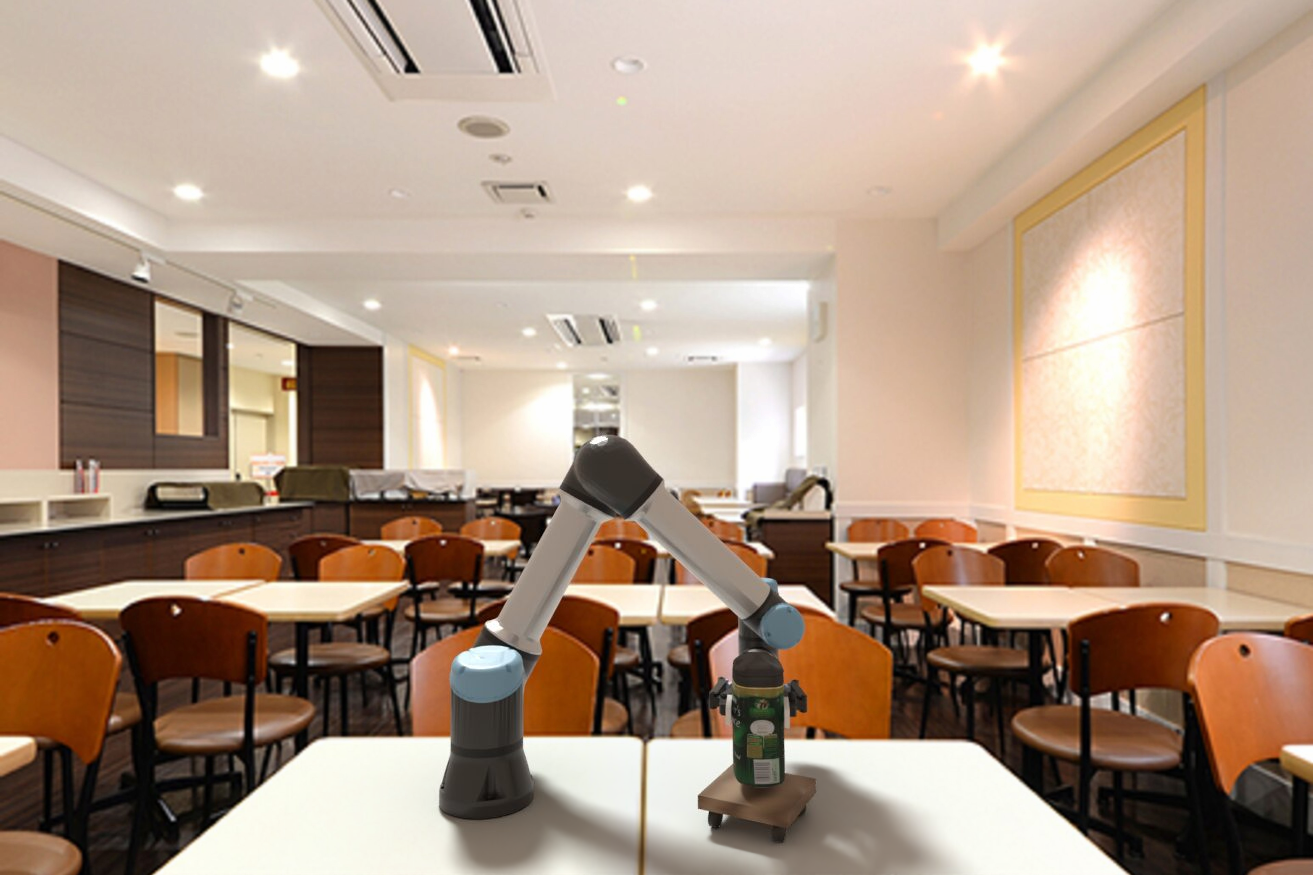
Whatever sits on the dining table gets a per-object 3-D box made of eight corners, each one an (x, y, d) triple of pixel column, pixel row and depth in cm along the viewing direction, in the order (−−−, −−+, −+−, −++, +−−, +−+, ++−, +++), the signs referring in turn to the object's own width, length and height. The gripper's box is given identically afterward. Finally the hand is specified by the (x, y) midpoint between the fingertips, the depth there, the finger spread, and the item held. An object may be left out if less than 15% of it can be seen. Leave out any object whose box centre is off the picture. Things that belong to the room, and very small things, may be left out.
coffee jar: (730, 764, 126) (730, 647, 127) (780, 765, 126) (779, 647, 127) (734, 789, 117) (733, 662, 117) (788, 790, 116) (787, 663, 117)
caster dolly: (697, 828, 118) (697, 794, 118) (733, 793, 131) (733, 763, 131) (788, 849, 112) (788, 813, 112) (816, 810, 124) (816, 778, 124)
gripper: (818, 699, 138) (829, 746, 115) (699, 695, 141) (687, 740, 118) (818, 656, 138) (829, 694, 116) (699, 653, 141) (687, 689, 118)
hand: (757, 717), depth 117 cm, fingers closed on coffee jar, 8 cm apart
